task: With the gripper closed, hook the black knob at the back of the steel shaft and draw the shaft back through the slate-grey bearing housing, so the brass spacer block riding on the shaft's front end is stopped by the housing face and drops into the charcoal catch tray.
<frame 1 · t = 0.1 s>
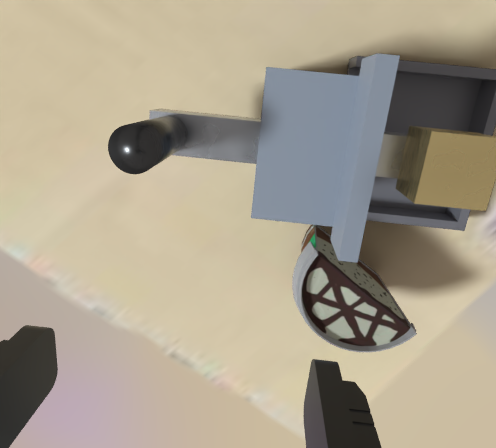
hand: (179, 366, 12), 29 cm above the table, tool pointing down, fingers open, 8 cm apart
spacer: (433, 161, 28), point 10 cm above the table, touching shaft
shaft: (326, 155, 25), point 13 cm above the table, slide at 0.0 cm, touching spacer
housing: (298, 133, 38), on the table
catch tray: (401, 143, 38), on the table
food container: (326, 267, 42), on the table
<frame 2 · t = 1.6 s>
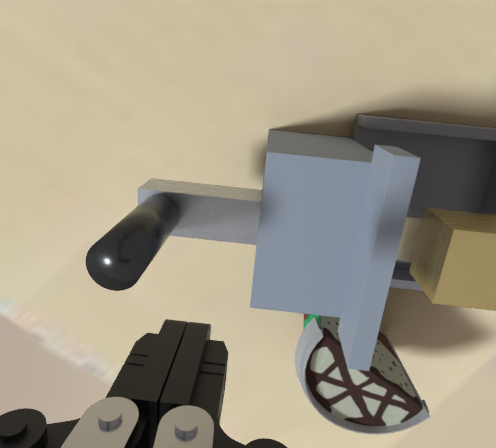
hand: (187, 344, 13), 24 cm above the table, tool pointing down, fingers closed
spacer: (452, 244, 25), point 10 cm above the table, touching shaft
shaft: (333, 245, 23), point 13 cm above the table, slide at 0.0 cm, touching spacer
housing: (301, 189, 35), on the table
catch tray: (412, 201, 35), on the table
food container: (330, 326, 40), on the table
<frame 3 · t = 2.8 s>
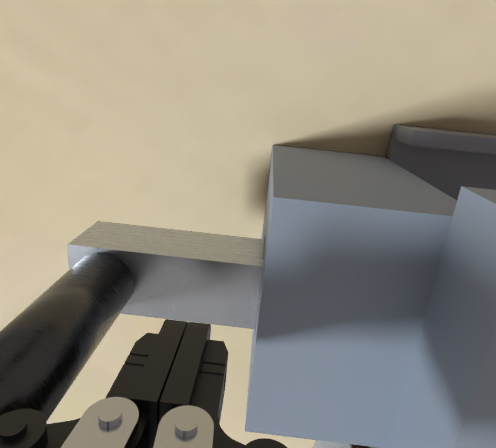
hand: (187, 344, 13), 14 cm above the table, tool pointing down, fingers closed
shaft: (380, 348, 14), point 13 cm above the table, slide at 0.1 cm, touching gripper, spacer
housing: (315, 225, 26), on the table
catch tray: (465, 241, 26), on the table
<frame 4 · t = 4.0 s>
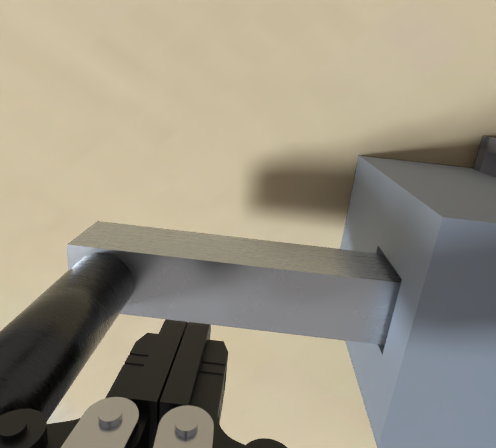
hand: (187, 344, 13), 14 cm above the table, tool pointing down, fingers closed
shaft: (379, 349, 14), point 13 cm above the table, slide at 5.6 cm, touching gripper
housing: (396, 235, 26), on the table
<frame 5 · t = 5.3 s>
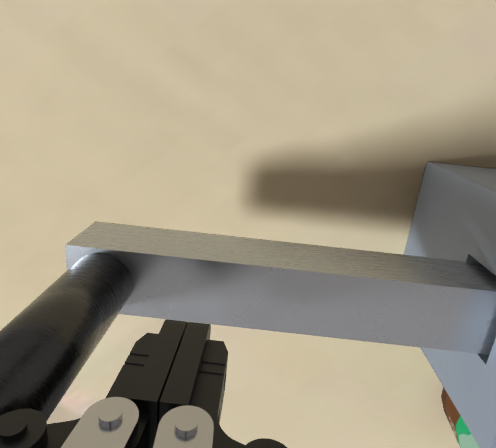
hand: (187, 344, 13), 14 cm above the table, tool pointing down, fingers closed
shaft: (378, 347, 14), point 13 cm above the table, slide at 10.1 cm, touching gripper
housing: (460, 241, 26), on the table
food container: (473, 409, 31), on the table
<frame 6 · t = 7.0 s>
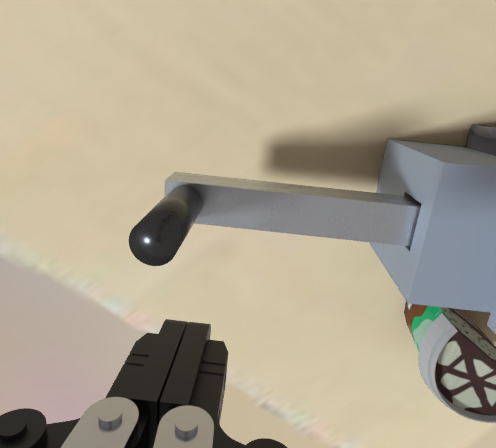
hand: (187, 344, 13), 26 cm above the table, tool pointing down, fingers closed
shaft: (342, 230, 26), point 13 cm above the table, slide at 10.0 cm
housing: (412, 194, 38), on the table
food container: (428, 323, 42), on the table
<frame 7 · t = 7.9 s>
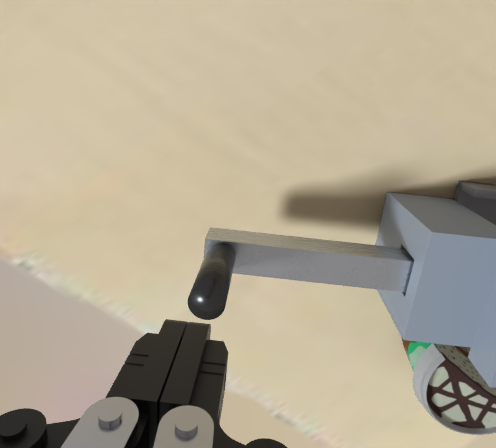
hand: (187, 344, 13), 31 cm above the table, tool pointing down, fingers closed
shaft: (350, 283, 32), point 13 cm above the table, slide at 10.0 cm
housing: (408, 238, 44), on the table
food container: (422, 345, 48), on the table
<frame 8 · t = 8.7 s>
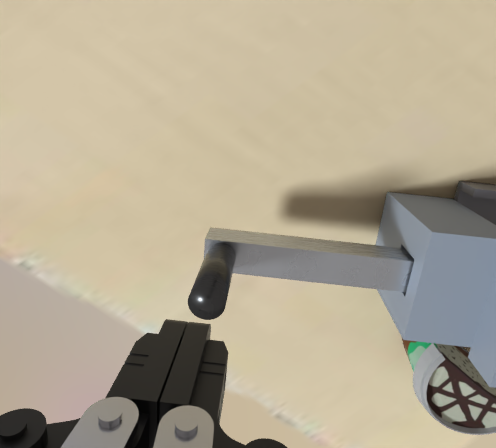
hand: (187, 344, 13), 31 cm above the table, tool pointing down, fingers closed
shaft: (350, 283, 32), point 13 cm above the table, slide at 10.0 cm
housing: (409, 238, 44), on the table
food container: (422, 345, 48), on the table
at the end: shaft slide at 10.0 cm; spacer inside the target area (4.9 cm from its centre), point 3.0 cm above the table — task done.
